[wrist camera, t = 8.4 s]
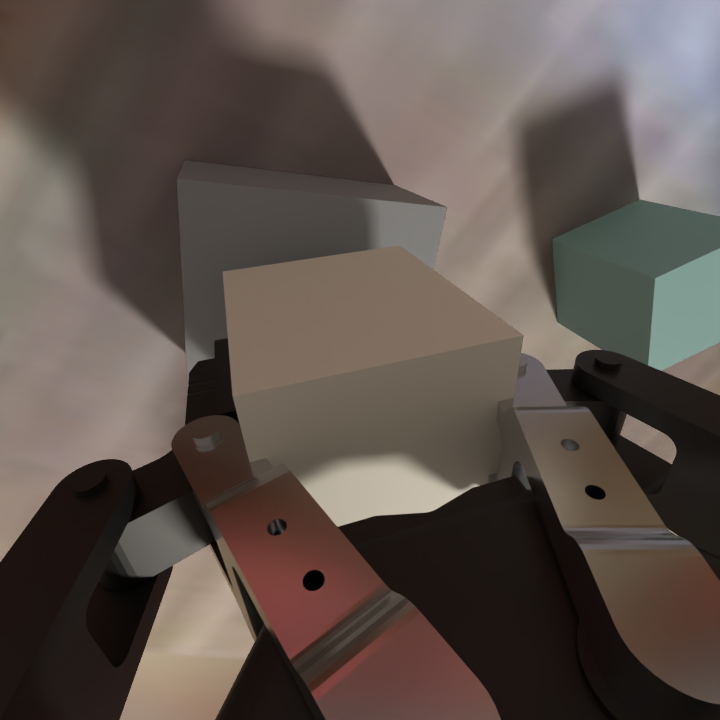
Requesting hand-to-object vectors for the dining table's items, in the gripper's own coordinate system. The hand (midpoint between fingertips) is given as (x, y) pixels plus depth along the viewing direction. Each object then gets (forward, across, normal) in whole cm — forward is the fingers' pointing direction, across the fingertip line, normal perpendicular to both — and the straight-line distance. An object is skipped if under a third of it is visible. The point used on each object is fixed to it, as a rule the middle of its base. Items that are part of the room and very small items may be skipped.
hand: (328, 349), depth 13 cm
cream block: (+1, 0, 0) cm, 1 cm away
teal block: (+7, -16, +2) cm, 18 cm away
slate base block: (+7, 0, 0) cm, 7 cm away
